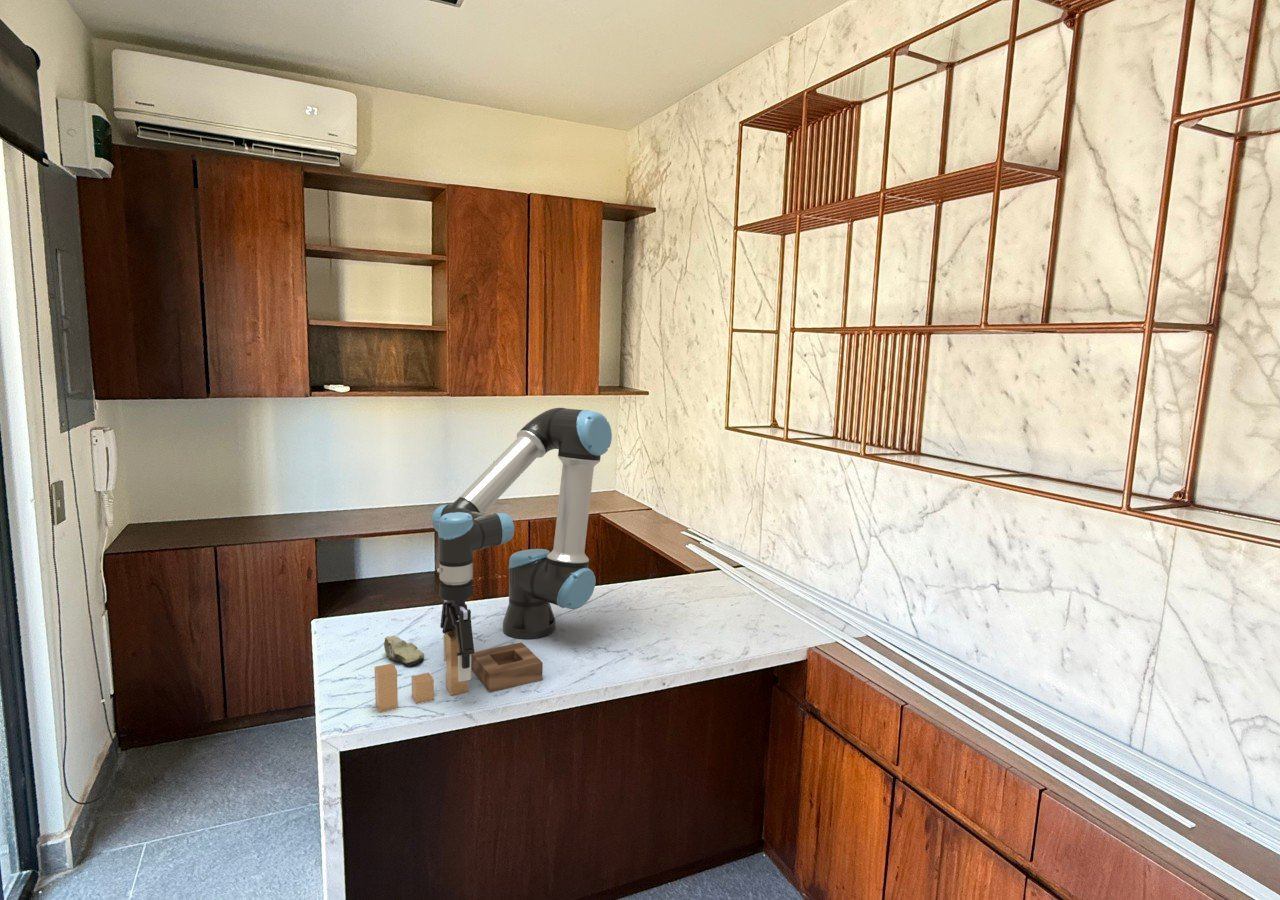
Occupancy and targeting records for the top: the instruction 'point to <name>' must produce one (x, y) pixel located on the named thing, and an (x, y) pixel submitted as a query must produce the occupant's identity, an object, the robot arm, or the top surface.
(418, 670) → the top surface
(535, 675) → the hole block
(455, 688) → the long pin
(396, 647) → the rock
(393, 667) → the medium pin
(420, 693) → the short pin
